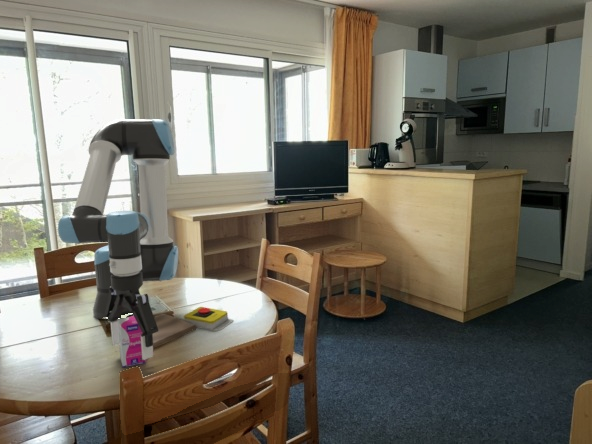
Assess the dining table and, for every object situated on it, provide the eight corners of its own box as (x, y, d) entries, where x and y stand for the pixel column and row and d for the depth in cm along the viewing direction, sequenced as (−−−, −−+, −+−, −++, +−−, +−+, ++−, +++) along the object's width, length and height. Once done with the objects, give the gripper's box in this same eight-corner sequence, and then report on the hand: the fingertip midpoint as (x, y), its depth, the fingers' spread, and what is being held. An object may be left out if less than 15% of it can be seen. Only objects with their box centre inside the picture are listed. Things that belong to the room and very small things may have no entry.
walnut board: (119, 334, 130) (118, 329, 129) (163, 317, 142) (163, 313, 142) (151, 348, 120) (151, 343, 120) (195, 329, 133) (195, 324, 133)
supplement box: (122, 368, 110) (119, 326, 108) (120, 358, 115) (117, 318, 113) (146, 363, 112) (143, 322, 110) (143, 353, 118) (140, 314, 116)
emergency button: (196, 302, 145) (234, 308, 139) (197, 314, 146) (234, 321, 140) (178, 311, 137) (217, 319, 131) (179, 324, 138) (218, 333, 132)
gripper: (86, 267, 114) (93, 343, 117) (142, 284, 99) (148, 370, 103) (112, 261, 120) (118, 333, 123) (169, 277, 105) (174, 358, 109)
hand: (132, 350), depth 113 cm, fingers open, 13 cm apart
